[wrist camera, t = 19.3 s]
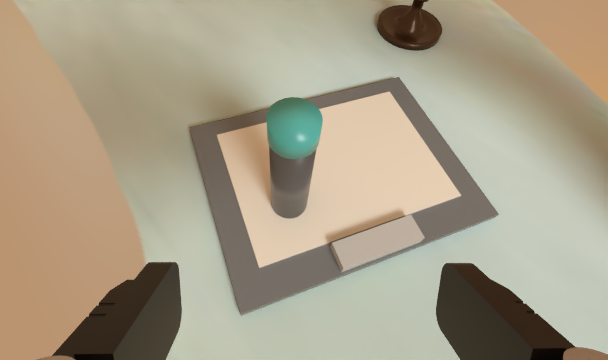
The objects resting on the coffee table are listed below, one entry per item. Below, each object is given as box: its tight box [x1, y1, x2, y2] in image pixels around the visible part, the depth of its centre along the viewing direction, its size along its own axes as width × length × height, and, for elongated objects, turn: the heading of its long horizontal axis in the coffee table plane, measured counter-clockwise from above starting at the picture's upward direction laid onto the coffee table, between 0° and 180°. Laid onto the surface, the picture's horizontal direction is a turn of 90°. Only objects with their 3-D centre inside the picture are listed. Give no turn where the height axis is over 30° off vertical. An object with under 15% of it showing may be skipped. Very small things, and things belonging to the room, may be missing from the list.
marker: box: [266, 97, 323, 219], centre depth 26 cm, size 4×4×12 cm
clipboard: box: [190, 77, 499, 315], centre depth 34 cm, size 26×20×2 cm
